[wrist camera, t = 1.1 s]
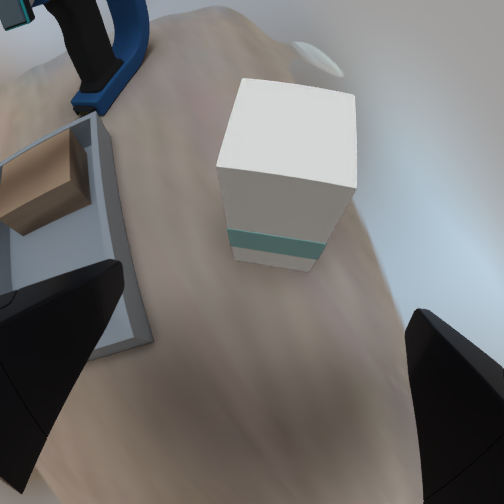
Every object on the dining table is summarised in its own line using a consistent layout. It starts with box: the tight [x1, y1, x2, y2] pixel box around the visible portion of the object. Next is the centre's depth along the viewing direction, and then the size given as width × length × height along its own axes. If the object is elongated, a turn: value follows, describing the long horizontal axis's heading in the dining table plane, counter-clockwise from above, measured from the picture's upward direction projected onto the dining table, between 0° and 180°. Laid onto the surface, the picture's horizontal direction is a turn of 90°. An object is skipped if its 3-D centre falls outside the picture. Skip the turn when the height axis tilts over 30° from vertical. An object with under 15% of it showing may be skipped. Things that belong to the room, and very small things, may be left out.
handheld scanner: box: [0, 0, 149, 116], centre depth 21 cm, size 4×16×19 cm, turn 164°
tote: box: [0, 111, 154, 361], centre depth 22 cm, size 20×13×4 cm, turn 20°
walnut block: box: [0, 128, 92, 236], centre depth 23 cm, size 6×8×4 cm
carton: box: [216, 78, 357, 272], centre depth 18 cm, size 6×6×12 cm
